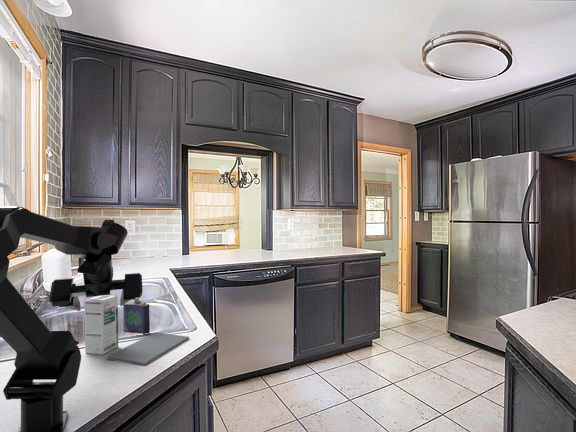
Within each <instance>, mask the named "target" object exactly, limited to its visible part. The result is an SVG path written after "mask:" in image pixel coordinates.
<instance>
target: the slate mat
mask: <svg viewBox="0 0 576 432" xmlns="http://www.w3.org/2000/svg"><path fill="white" fill-rule="evenodd" d="M189 339H190V336H185V335H180V334H179V335H178V334H170V333H164V332H153V333H152V334H149V335H147V336H146V337H143V338H142V339H139V340H138V341H135V342H133V343H132V344H130V345H129V344H128V345H127V346H125V347H123V348H121V349H119V350H117V351H115V352H113V353H111V354H108V355H107V356H106V360H110V361H116V362H120V363H121V362H123V363H128V364H133V365H139V366H146V365H149V363H151V362H153V361H154V360H157V359H158V358H161V356H163V355H164V354H167V353H168V352H169V351H171V350H173V349H174V348H177V347H178V346H179V345H181V344H183V343H185V342H186V341H188V340H189Z"/></svg>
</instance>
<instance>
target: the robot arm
mask: <svg viewBox="0 0 576 432" xmlns="http://www.w3.org/2000/svg"><path fill="white" fill-rule="evenodd" d="M128 233H129V232H128V230H127V228H126V227H125V226H123V225H122V224H119V223H117V222H115V219H104V220H103V222H102V225H101V226H100V227H99V226H91V225H90V226H87V225H83V226H82V225H80V226H79V225H72V224H69V223H65V222H63V221H59V220H57V219H54V218H52V217H48V216H45V215H42V214H39V213H36V212H33V211H30V210H29V209H28V208H25V207H23V206H0V337H1V338H2V340H4V342H5V343H7V344H8V346H10V348H11V349H13V350H14V351H15V353H16V355H15V360H14V362H13V363H14V364H13V365H14V367H15V370H13V373H12V374H11V376H10V377H9V380H8V382H7V383H6V385H5V386H4V388H3V390H2V391H3V394H4V398H5V399H6V401H7V400H8V401H9V400H20V427H19V429H18V432H64V428H65V426H66V422H67V419H68V416H69V411H68V410H64V395H66V394H67V393H68V392H69V391H71V390H72V389H74V387H75V386H76V385H77V381H78V376H79V371H80V367H81V364H82V363H81V362H82V353H81V350H80V347H79V346H78V345H79V344H80V341H78V340H76V339H75V338H74V335H73V333H72V332H70V330H68V329H67V330H63V329H62V330H54V329H53V330H49V328H48V327H47V325H45V323H44V322H43V321H42V319H41V318H40V316H38V314H36V312H35V310H33V308H32V307H31V306H30V304H29V303H28V302H27V301H26V300H25V298H24V297H23V296H22V294H21V293H20V292H19V291H18V289H17V288H16V287H15V286H14V284H13V283H12V282H11V281H10V280H9V278H8V271H9V268H10V267H9V266H10V259H9V256H10V255H11V254H13V253H14V252H15V251H16V250H17V249H18V247H19V244H20V240H21V239H25V240H30V241H35V242H39V243H44V244H47V245H52V246H54V247H55V250H56V251H58V252H60V253H62V254H64V255H69V256H73V255H74V256H78V267H77V270H76V271H77V273H79V274H82V279H83V283H84V284H80V285H76V283H74V277H67V278H55V279H54V280H53V281H52V282H51V286H50V291H49V297H48V298H49V305H50V306H51V307H59V308H67V309H71V310H74V311H78V312H81V310H82V309H81V301H80V298H79V297H85V298H91V297H92V298H93V297H97V296H103V295H111V291H116V290H121V294H120V297H119V301H120V302H119V306H120V307H123V305H124V304H125V303H129V302H130V301H133V299H136V298H139V299H140V298H141V297H142V296H143V275H142V274H141V273H140V272H133V273H125V274H124V279H123V278H121V279H113V278H114V267H113V260H112V259H113V258H112V256H113V255H118V253H119V252H120V249H121V248H122V246H123V244H124V242H125V240H126V238H127V236H128ZM35 380H36V381H35ZM38 380H39V381H38ZM41 380H43V381H41ZM46 380H47V381H46ZM48 380H49V381H48ZM51 380H52V381H51ZM53 380H55V381H53Z"/></svg>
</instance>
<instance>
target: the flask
mask: <svg viewBox="0 0 576 432" xmlns="http://www.w3.org/2000/svg"><path fill="white" fill-rule="evenodd" d="M139 299H140V297H139V298H136V299H132V301H134V302H130V301H129V302H127V303H125V304H124V305H123V306H122V308H123V310H122V313H123V315H122V316H123V317H122V321H123V322H122V331H123V332H124V333H129V334H139V335H140V334H142V335H146V334H149V333H151V331H150V329H151V328H150V326H151V325H150V324H151V323H150V303H146V302H142V300H139Z"/></svg>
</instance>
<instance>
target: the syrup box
mask: <svg viewBox="0 0 576 432" xmlns="http://www.w3.org/2000/svg"><path fill="white" fill-rule="evenodd" d="M118 299H119V296H118V295H116V294H110V295H103V296H93V297H92V298H91V297H89V298H87V299H84V350H85V351H84V353H85V354H91V355H101V356H102V355H104V354H106V353H108V352H110V351H112V350H114V349H116V348H118V347H119V300H118Z"/></svg>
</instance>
